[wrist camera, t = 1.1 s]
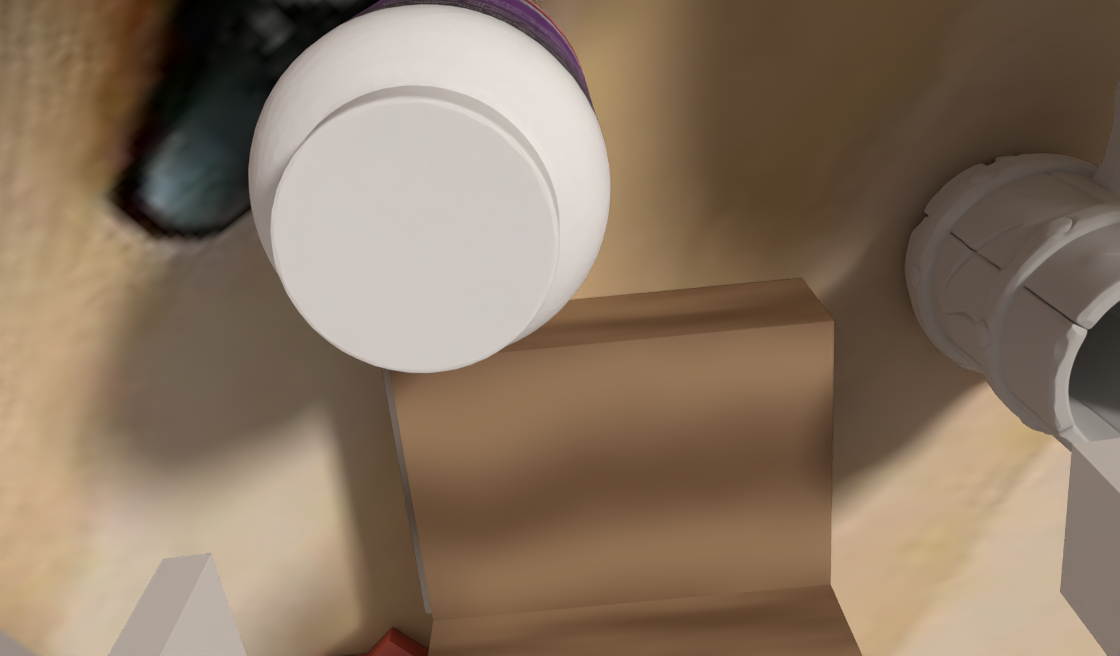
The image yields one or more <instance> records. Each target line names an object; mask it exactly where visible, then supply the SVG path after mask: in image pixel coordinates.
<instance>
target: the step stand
mask: <svg viewBox="0 0 1120 656" xmlns="http://www.w3.org/2000/svg"><path fill="white" fill-rule="evenodd" d="M382 371H383V377H384V383H385V388H386V394H387V400H388V405H389V411H390V416H391V422H392V428H393V433H394V439H395V445H396V450H397V456H398V461H399V467H400V473H401V478H402V484H403V490H404V495H405V501H406V506H407V512H408V518H409V523H410V529H411V535H412V540H413V546H414V551H415V557H416V563H417V568H418V574H419V580H420V585H421V591H422V597H423V602H424V608H425V613H426V614H432V618H433V624H432V631H431V638H430V645H429V650H427V649H426V648H424V647H423V646H421V645H419V644H418V643H416V642H414V641H413V640H411V639H410V638H408V637H406V636H405V635H403V634H402V633H400V632H398V631H397V630H395V629H394V628H391V629H390V630H389V631H388V632H387V634H386V635H385V636H384V637H383V638H382V639H381V640H380V641H379V642H378V643H377V644H376V645H375V646H374V647H373V649H372V650H371V651H370V652H369V653H368V654H361V655H350V656H862V654H861V652H860V649H859V647H858V645H857V643H856V641H855V638H854V636H853V634H852V632H851V629H850V627H849V625H848V623H847V620H846V618H845V616H844V614H843V611H842V609H841V607H840V605H839V602H838V600H837V598H836V596H835V594H834V591H833V589H832V587H831V585H830V576H831V509H832V441H833V374H834V320H833V318H832V317H831V316H830V314H829V313H828V312H827V310H826V309H825V308H824V306H823V305H822V304H821V303H820V301H819V300H818V299H817V297H816V296H815V295H814V293H813V292H812V291H811V289H810V288H809V287H808V285H807V284H806V283H805V281H804V280H803V279H802V278H796V279H786V280H775V281H765V282H754V283H744V284H733V285H723V286H712V287H702V288H691V289H681V290H670V291H660V292H649V293H639V294H629V295H618V296H608V297H597V298H587V299H576V300H569V301H568V302H567V303H566V304H565V306H564V307H563V308H562V309H561V310H560V311H559V312H558V313H557V314H555V315H554V316H553V317H552V318H551V319H550V320H549V321H548V322H546V323H545V324H544V325H542V326H541V327H540V328H538V329H537V330H535V331H534V332H532V333H531V334H529V335H528V336H526V337H524V338H522V339H520V340H519V341H517V342H515V343H513V344H510V345H508V346H506V347H504V348H503V349H501V350H499V351H498V352H496V353H495V354H493V355H491V356H490V357H488V358H486V359H483V360H481V361H478V362H476V363H474V364H472V365H468V366H465V367H462V368H458V369H454V370H449V371H443V372H434V373H409V372H402V371H394V370H389V369H385V368H382Z"/></svg>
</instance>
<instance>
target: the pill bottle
mask: <svg viewBox="0 0 1120 656" xmlns="http://www.w3.org/2000/svg"><path fill="white" fill-rule="evenodd" d="M248 173H249V195H250V202H251V208H252V213H253V218H254V222H255V226H256V229H257V232H258V235H259V238H260V241H261V243H262V246H263V248H264V250H265V252H266V254H267V256H268V259H269V261H270V263H271V264H272V266H273V268H274V269H275V271H276V272H277V274H278V276H279V277H280V280H281V282H282V284H283V287H284V289H285V291H286V293H287V295H288V296H289V298H290V300H291V301H292V303H293V304H294V306H295V308H296V309H297V310H298V312H299V313H300V314H301V315H302V317H303V318H304V319H305V320H306V321H307V322H308V324H309V325H310V326H311V327H312V328H313V329H314V330H315V331H316V332H318V333H319V334H320V335H321V336H322V337H323V338H324V339H325V340H327V341H328V342H329V343H331V344H332V345H334V346H335V347H337V348H338V349H340V350H341V351H343V352H345V353H347V354H349V355H351V356H353V357H355V358H357V359H359V360H361V361H364V362H366V363H369V364H371V365H374V366H377V367H381V368H385V369H389V370H394V371H402V372H409V373H434V372H443V371H449V370H454V369H458V368H462V367H465V366H468V365H472V364H474V363H476V362H478V361H481V360H483V359H486V358H488V357H490V356H491V355H493V354H495V353H496V352H498V351H499V350H501V349H503V348H504V347H506V346H508V345H510V344H513V343H515V342H517V341H519V340H520V339H522V338H524V337H526V336H528V335H529V334H531V333H532V332H534V331H535V330H537V329H538V328H540V327H541V326H542V325H544V324H545V323H546V322H548V321H549V320H550V319H551V318H552V317H553V316H554V315H555V314H557V313H558V312H559V311H560V310H561V309H562V308H563V307H564V306H565V304H566V303H567V302H568V301H569V300H570V299H571V298H572V296H573V295H574V294H575V293H576V292H577V290H578V289H579V287H580V286H581V284H582V283H583V281H584V280H585V278H586V277H587V275H588V273H589V271H590V270H591V268H592V266H593V264H594V262H595V260H596V257H597V255H598V252H599V250H600V247H601V244H602V241H603V237H604V234H605V230H606V225H607V220H608V214H609V207H610V170H609V163H608V157H607V152H606V147H605V143H604V139H603V136H602V132H601V129H600V126H599V123H598V119H597V117H596V114H595V111H594V108H593V104H592V101H591V98H590V95H589V92H588V88H587V85H586V81H585V77H584V74H583V71H582V68H581V66H580V63H579V61H578V58H577V56H576V54H575V52H574V50H573V48H572V46H571V45H570V43H569V42H568V40H567V38H566V36H565V35H564V34H563V32H562V31H561V29H560V28H559V27H558V26H557V24H556V23H555V22H554V21H553V20H552V19H551V18H550V17H549V16H548V15H547V14H546V13H545V12H544V11H543V10H542V9H541V8H539V7H538V6H537V5H536V4H534V3H533V2H532V1H530V0H380V1H378V2H377V3H375V4H374V5H372V6H370V7H369V8H367V9H366V10H364V11H362V12H360V13H359V14H357V15H356V16H354V17H352V18H351V19H349V20H348V21H346V22H344V23H343V24H341V25H339V26H338V27H336V28H334V29H332V30H331V31H329V32H328V33H327V34H325V35H324V36H323V37H321V38H320V39H319V40H318V41H316V42H315V43H314V44H312V45H311V46H310V47H309V48H307V49H306V50H305V51H304V52H303V53H302V54H301V55H300V56H299V57H298V58H297V59H296V60H295V61H294V62H293V63H292V64H291V65H290V66H289V67H288V69H287V70H286V71H285V72H284V73H283V75H282V76H281V77H280V79H279V80H278V82H277V83H276V85H275V87H274V88H273V90H272V91H271V93H270V95H269V97H268V99H267V100H266V102H265V104H264V107H263V110H262V112H261V115H260V117H259V120H258V122H257V125H256V128H255V132H254V137H253V141H252V146H251V151H250V159H249V169H248Z"/></svg>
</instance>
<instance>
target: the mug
mask: <svg viewBox="0 0 1120 656" xmlns="http://www.w3.org/2000/svg"><path fill="white" fill-rule="evenodd" d="M924 212H925V213H926V214H927V215H928V216H929V217H928V216H926V217H925V218H924V219H923V221H922V222H921V223H920V224H919V225H918V226H917V227H916V228H915V229H914V230H913V231H912V233H911V235H910V239H909V243H908V247H907V252H906V258H905V280H906V285H907V289H908V292H909V295H910V300H911V304H912V307H913V310H914V313H915V316H916V319H917V321H918V323H919V325H920V326H921V328H922V330H923V331H924V332H925V334H926V335H927V336H928V338H929V339H930V340H931V342H932V343H933V344H934V346H935V347H936V348H937V349H938V350H939V351H941V352H942V353H943V354H945V355H946V356H948V357H949V358H951V360H952V361H953V362H954V363H955V364H957V365H958V366H959V367H961V368H964V369H970V370H972V371H975V372H978V373H982V374H984V376H985V378H986V380H987V382H988V384H989V385H990V387H991V388H992V390H993V391H994V393H995V394H996V395H997V396H998V398H999V399H1000V400H1001V401H1002V402H1003V403H1004V404H1005V405H1006V406H1007V407H1008V408H1009V409H1010V410H1011V411H1012V412H1013V413H1014V414H1015V415H1016V416H1018V417H1019V418H1020V420H1021V421H1022V422H1023V423H1024V424H1025V425H1026V426H1028V427H1029V428H1031V429H1033V430H1036V431H1040V432H1044V433H1045V434H1049V435H1053V436H1054V437H1055V438H1056V439H1057V440H1058V441H1059V442H1061V443H1062V444H1063V445H1064V446H1065V447H1066V448H1067V449H1068V450H1070V451H1071V452H1072V444H1076V443H1084V442H1091V441H1099V440H1107V439H1115V438H1120V80H1119V81H1118V83H1117V85H1116V90H1115V95H1114V119H1113V124H1112V129H1111V133H1110V137H1109V141H1108V145H1107V149H1106V153H1105V156H1104V158H1103V160H1102V162H1101V164H1100V165H1099V164H1095V163H1088V162H1086V161H1084V160H1081V159H1078V158H1075V157H1071V156H1067V155H1061V154H1050V153H1035V154H1019V156H1013V155H1010V156H1000V157H996V159H995V161H994V163H993V164H990V165H988V166H986V165H985V164H983V163H979V164H976V165H974V166H972V167H970V168H968V169H966V170H965V171H963V172H961V173H960V174H958V175H957V176H955V177H954V178H953V179H951V180H950V181H949V182H948V183H946V184H945V185H944V186H943V187H942V188H941V189H940V190H939V191H938V192H937V193H936V194H935V195H934V196H933V197H932V199H931V200H930V201H929V203H928V204H927V205H926V207H925V209H924Z"/></svg>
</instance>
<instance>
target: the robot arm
mask: <svg viewBox="0 0 1120 656" xmlns="http://www.w3.org/2000/svg"><path fill="white" fill-rule="evenodd" d="M1060 592H1061V594H1062V595H1063V596H1064V598H1065V599H1066V600H1067V602H1068V603H1069V604H1070V606H1071V607H1072V608H1073V610H1074V611H1075V612H1076V614H1077V615H1078V617H1079V618H1080V619H1081V621H1082V622H1083V623H1084V625H1085V626H1086V627H1087V629H1088V630H1089V631H1090V633H1091V634H1092V635H1093V637H1094V638H1095V640H1096V641H1097V642H1098V644H1099V645H1100V646H1101V648H1102V649H1103V650H1104V652H1105V653H1106V654H1107V656H1120V438H1115V439H1107V440H1099V441H1091V442H1084V443H1076V444H1072V455H1071V467H1070V479H1069V491H1068V503H1067V515H1066V527H1065V539H1064V551H1063V563H1062V575H1061V587H1060ZM108 656H246V653H245V650H244V647H243V644H242V641H241V638H240V635H239V632H238V629H237V627H236V624H235V621H234V618H233V615H232V612H231V609H230V606H229V603H228V600H227V597H226V594H225V592H224V589H223V586H222V583H221V580H220V577H219V574H218V571H217V568H216V565H215V562H214V559H213V557H212V554H211V553H206V554H199V555H191V556H183V557H175V558H167V559H163V560H162V561H161V563H160V565H159V567H158V568H157V570H156V572H155V574H154V575H153V577H152V579H151V581H150V583H149V584H148V586H147V588H146V590H145V591H144V593H143V595H142V597H141V598H140V600H139V602H138V604H137V606H136V607H135V609H134V611H133V613H132V614H131V616H130V618H129V620H128V621H127V623H126V625H125V627H124V629H123V630H122V632H121V634H120V636H119V637H118V639H117V641H116V643H115V644H114V646H113V648H112V650H111V652H110V653H109V655H108Z"/></svg>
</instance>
